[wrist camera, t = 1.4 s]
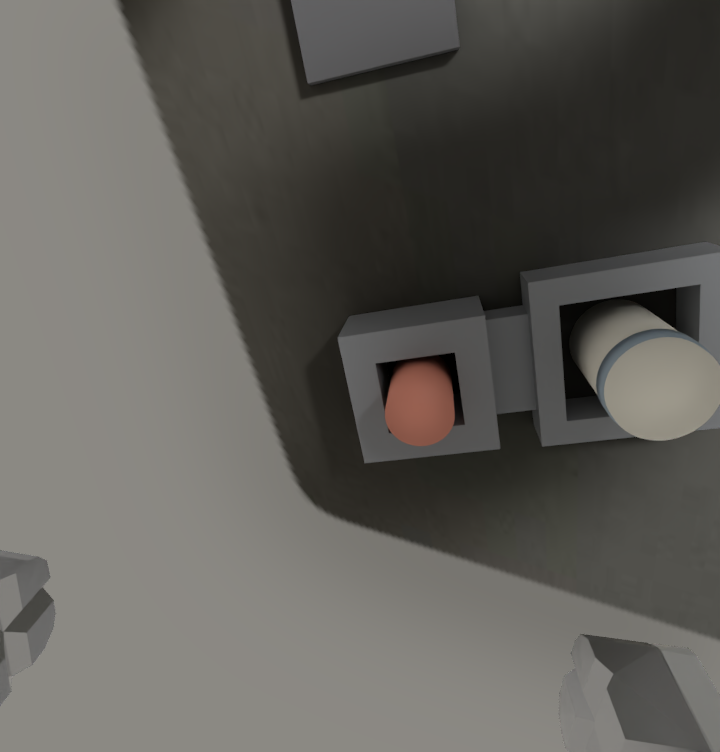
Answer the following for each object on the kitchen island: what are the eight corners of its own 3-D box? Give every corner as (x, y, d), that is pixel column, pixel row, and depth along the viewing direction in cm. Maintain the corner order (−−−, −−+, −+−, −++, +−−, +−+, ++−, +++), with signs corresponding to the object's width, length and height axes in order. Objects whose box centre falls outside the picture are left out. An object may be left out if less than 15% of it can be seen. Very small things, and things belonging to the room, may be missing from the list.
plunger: (447, 346, 32) (449, 378, 27) (455, 402, 33) (459, 442, 28) (386, 355, 32) (379, 388, 28) (396, 409, 34) (391, 449, 29)
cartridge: (659, 290, 31) (729, 331, 24) (659, 374, 33) (724, 435, 26) (564, 305, 32) (603, 348, 25) (569, 385, 34) (607, 448, 27)
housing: (706, 241, 30) (750, 254, 26) (701, 405, 33) (739, 440, 29) (345, 300, 34) (333, 320, 30) (374, 442, 37) (367, 477, 33)
